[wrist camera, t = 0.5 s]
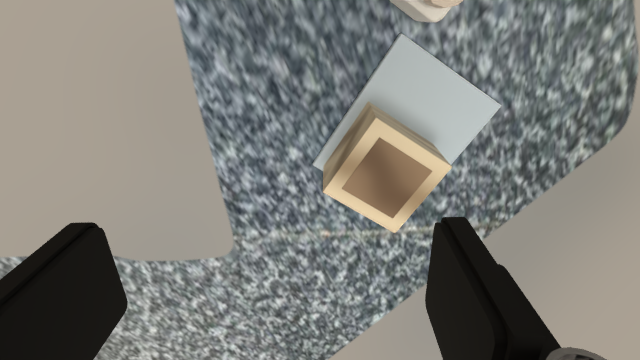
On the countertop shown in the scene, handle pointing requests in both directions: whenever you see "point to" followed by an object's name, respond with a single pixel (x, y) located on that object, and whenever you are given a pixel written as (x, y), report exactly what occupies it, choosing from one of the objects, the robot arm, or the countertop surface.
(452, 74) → the pale grey rectangular plate
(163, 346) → the countertop surface
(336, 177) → the plinth
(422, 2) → the pepper shaker
